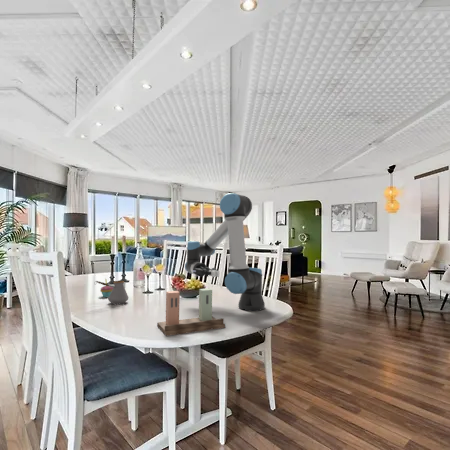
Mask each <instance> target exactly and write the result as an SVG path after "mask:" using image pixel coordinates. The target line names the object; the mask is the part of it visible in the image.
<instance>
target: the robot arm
mask: <svg viewBox="0 0 450 450" xmlns="http://www.w3.org/2000/svg"><path fill="white" fill-rule="evenodd" d="M219 209H220V211H221V212H222V213H223V216H224V220H223V222H222V223H221V224H220V225H219V226H218V227H217V228H216V230H214V232H213V233H212V234H211V235H210V237H208V239H207V240H206V241H204V243H203V244H202V243H200V241H199V240H196V241H188V242H187V245H186V246H187V247H186V252H187V253H186V262H185V265H184V269H185V271H186V272H187V273H189V274H192V275H194V276H196V277H204V276H205V277H209V276H210V277H213V278H215V277H216V278H218V277H220V271H218V269H217V268H215V267H211V268H210V267H209V266H207V265H206V264H205V263H203V262H200V257H210V256H213V255H214V254H215V252H216V248H217V247H218V246H219V245H220V244H221V243H222V242H223V241H224V240H225V239H226V238H228V246H229V247H228V249H229V261H230V265H229V267H228V268H227V274H226V276H225V278H224V285H225V287H226V289H227V291H229V292H230V293H231V294H234V295H239V294H240V298H239V301H238V305H237V306H238V307H239V309H240V308H241V309H240V310H242V309H245V310H244V311H249V310H258V311H261V310H260V309H263V310H265V309H266V307H265V305H266V304H265V302H264V297H263V295H262V293H263V291H262V290H263V289H262V288H263V270H262V268H259V267H249V265H247V256H246V242H245V232H244V231H245V229H244V221H245V220H246V219H247V217H248V216H249V215H250V214H251V212H252V210H253V203H252V200H251V199H250V198H249V197H248V196H246V195H242V194H237V193H235V192H234V193H232V192H230V193H228V192H227V193H226V194H224V195H223V197H222V198H221V200H220V203H219ZM238 307H237V308H238ZM264 308H265V309H264Z"/></svg>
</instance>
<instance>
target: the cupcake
mask: <svg viewBox="0 0 450 450" xmlns="http://www.w3.org/2000/svg"><path fill="white" fill-rule="evenodd" d="M104 279H105V283H106V284H108V282H107V281H108V280H107V278H104ZM112 289H113V288H112V287H110V286H106V285H103V286H102V287H101V288H100V293H101V294H102V297H103V298H109V296H110V294H111V292H112Z"/></svg>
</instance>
